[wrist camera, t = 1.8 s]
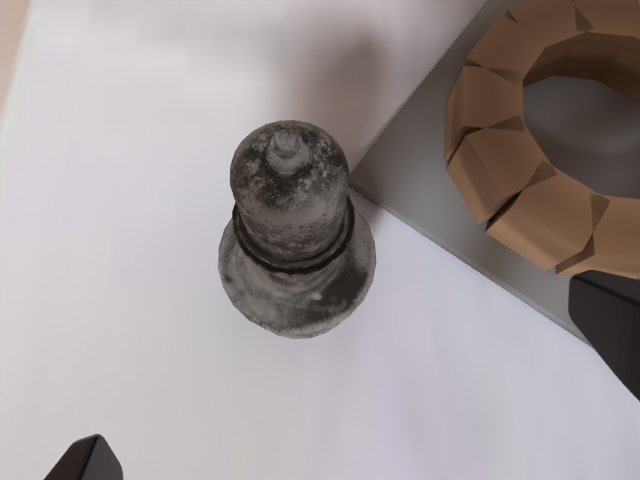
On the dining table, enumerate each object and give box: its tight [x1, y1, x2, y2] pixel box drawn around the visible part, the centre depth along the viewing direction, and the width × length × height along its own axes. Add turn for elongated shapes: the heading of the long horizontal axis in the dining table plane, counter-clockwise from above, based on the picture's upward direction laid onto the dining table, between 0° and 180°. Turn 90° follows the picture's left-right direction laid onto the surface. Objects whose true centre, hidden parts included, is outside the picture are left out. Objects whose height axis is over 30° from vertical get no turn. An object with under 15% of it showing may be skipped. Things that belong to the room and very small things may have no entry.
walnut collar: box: [349, 0, 640, 348], centre depth 21 cm, size 16×16×4 cm
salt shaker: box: [218, 120, 376, 339], centre depth 15 cm, size 6×6×12 cm
